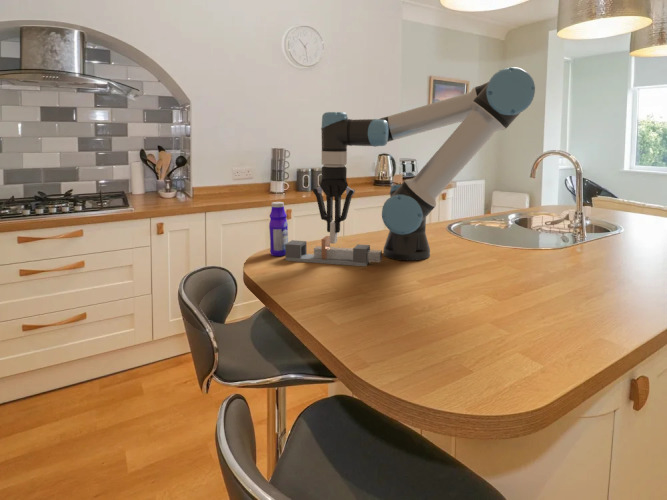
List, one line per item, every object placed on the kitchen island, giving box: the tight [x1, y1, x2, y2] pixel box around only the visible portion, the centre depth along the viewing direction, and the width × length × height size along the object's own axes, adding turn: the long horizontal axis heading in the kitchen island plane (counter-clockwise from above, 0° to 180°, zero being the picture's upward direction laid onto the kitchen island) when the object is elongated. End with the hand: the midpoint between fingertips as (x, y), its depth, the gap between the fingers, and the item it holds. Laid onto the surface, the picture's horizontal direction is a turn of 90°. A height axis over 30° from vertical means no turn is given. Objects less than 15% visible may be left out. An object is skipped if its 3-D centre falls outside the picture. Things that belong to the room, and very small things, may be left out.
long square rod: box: [313, 235, 383, 263], centre depth 146 cm, size 21×5×6 cm, turn 74°
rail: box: [285, 239, 371, 267], centre depth 148 cm, size 26×6×5 cm, turn 74°
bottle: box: [268, 201, 289, 257], centre depth 155 cm, size 7×6×17 cm
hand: (333, 242), depth 147 cm, fingers closed
